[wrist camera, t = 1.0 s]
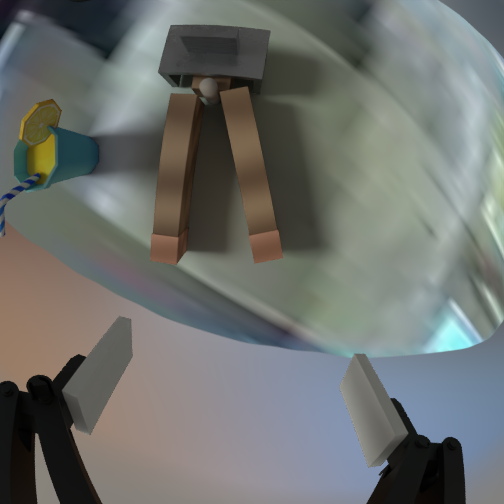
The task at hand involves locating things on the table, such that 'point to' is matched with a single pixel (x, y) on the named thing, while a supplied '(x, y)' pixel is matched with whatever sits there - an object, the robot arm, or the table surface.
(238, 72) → the collar
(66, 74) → the table surface
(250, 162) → the hinged jaw
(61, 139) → the cup
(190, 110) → the base
